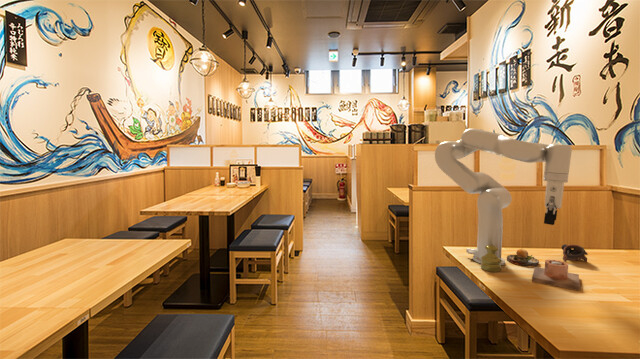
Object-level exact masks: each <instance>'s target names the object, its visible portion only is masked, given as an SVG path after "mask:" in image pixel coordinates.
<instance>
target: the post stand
mask: <svg viewBox="0 0 640 359" xmlns="http://www.w3.org/2000/svg"><path fill="white" fill-rule="evenodd" d="M552 264H556V265H561V263H560V262H552ZM544 271H545V267H538V266H535V267H533V273H532V275H531V282H532V283H533V282H534V283H539V284H544V285H549V286H553V287H558V288H564V289H568V290H569V289H570V290H574V291H578V292H580V289H581V284H580V283H581V282H580V274H578V273H574V272H573V273H572V272H568V276H567V279H564V280H562V279H554V278H550V277H547V276H546V275H544Z"/></svg>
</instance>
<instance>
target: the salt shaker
mask: <svg viewBox="0 0 640 359" xmlns="http://www.w3.org/2000/svg"><path fill="white" fill-rule="evenodd" d="M485 249H486V250H487V251H488V253H487V254H485V255H484V256H482V257H481V260H482V262H481V263H480V268H481V269H482V270H484V271H486V272H490V273H499V272H500V271H501V270H502V268H501V267H502V265H501V264H500V263H501V259H500V258H499V257H498V256H497V255H496V254H495V252H496V251H497V250H499V248H498V247H496V246H494V245H487V246H485Z"/></svg>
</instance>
